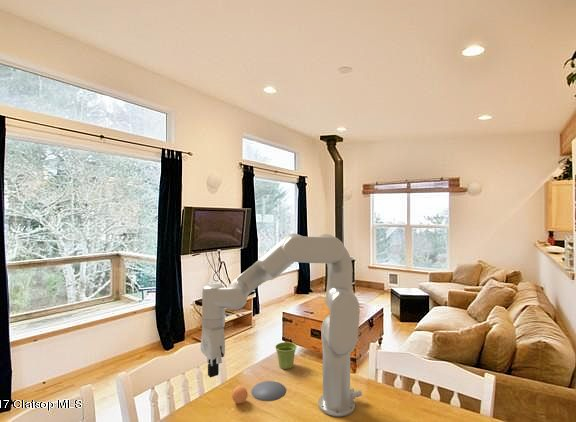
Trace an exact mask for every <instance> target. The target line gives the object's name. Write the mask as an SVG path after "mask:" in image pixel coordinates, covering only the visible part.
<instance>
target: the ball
mask: <svg viewBox="0 0 576 422" xmlns="http://www.w3.org/2000/svg"><path fill="white" fill-rule="evenodd" d="M232 390H233V391H232V393H231V398H232V400H233V402H234V403H236V404H243V403H244V402H246V400H247V398H248V394H249V393H248V391H247V390H248V389H247V388H245V386H243V385H239V386H236V387H235V388H233V389H232Z"/></svg>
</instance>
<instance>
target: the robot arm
mask: <svg viewBox="0 0 576 422" xmlns="http://www.w3.org/2000/svg"><path fill="white" fill-rule="evenodd" d="M294 263H305V264H306V263H307V264H326V267H327V280H326V292H325V304H326V306H327V308H328V309H329V315H327V316H326V317H325V318H324V319H323V321H322V323H321V329H320V331H321V333H320V335H321V347H322V395H320V397H319V398H318V409H320V410H321V411H322V412H323V413H325V414H326V415H329V416H331V417H347V416H349V415H350V414H352V413H353V412H354V411H355V409H356V405H355V404H356V403H355V401H354V400H355V399H356V398H359V397H362V396H363V393H362V390H360V389H357V390H355V389H354V388H352V387H351V353H352V352H353V350H354V349H356V346H357V343H358V337H359V325H360V310H361V309H360V303H359V300H358V298H357V296H356V295H355V294H354V293H353V263H352V259H351V255H350V254H349V252H348V250H347V248H346V247H345V245H344V243H343V242H342V241H341V240H340V239H339V238H338V237H336V236H334V235H332V234H326V233H325V234H321V235H319V236H303V235H300V234H298V233H290V234H288V235H286V236H285V237H284V238H282V239H281V240H280V241H279V242H278V243H277V244H276V245H275V246H273V247H272V248H271V249H270V250H268V251H267V253H265V254H264V255H263V256H262V257H260V258H259V259H258V260H257V261H255V262H254V263H253V264H252V265H251V266H249V267H248V268H247V269H246V270H244V271H243V272H242V273H241V274H240V275H239V276H237V277H236V278H235V279H234V280H233V281H231V282H230V284H229V285H228V287H225V286H224V285H223V284H219V283H211V284H207V285H205V286H203V288H202V293H201V294H202V296H201V297H202V298H201V299H202V301H201V303H202V305H201V309H202V310H201V311H202V312H201V313H202V314H201V319H202V320H201V337H200V351H201V353H202V354H203V355H204V356H205V357H206V360H207V376H208V377H209V378H214V377H216V376H219V371H220V369H219V366H220V364H222V362H223V359H222V358H224V357H225V355H226V343H225V342H226V340H225V329H224V327H225V325H226V309H228V310H241V309H242V308H244V306H245V305H247V301H248V296H249V295H250V294H251V293H252V292H253V291H254V290H256V289H257V288H258V287H259V286H261V285H263V284H264V283H266V282H268V281H272V280H275V279H276V278H278V277H279V276H280V275H281V274H283V273H284V272H285V271H286V270H287V269H288V268H289V267H290V266H292V265H293V264H294Z"/></svg>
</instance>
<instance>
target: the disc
mask: <svg viewBox="0 0 576 422" xmlns="http://www.w3.org/2000/svg"><path fill="white" fill-rule="evenodd" d="M286 391H287V389H286V386H285V385H284V384H282V383H280V382H278V381H272V380H269V381H261V382H259V383H257V384H255V385H254V386H253V387H252V388H251V395H252V397H254V399H257V400H259V401H264V402H266V401H267V402H271V401H276V400H278V399H281V398H282V397H284V396H285V394H286V393H287V392H286Z"/></svg>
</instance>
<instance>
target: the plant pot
mask: <svg viewBox="0 0 576 422" xmlns="http://www.w3.org/2000/svg"><path fill="white" fill-rule="evenodd" d="M274 348H275V351H276V353H277V361H278V366H279V368H280V369H284V370H287V369H289V370H290V369H292V368H293V367H294V360H295V353H296V349H297V344H296V343H294V342H289V341H288V342H286V341H283V342H280V343H277V344H275V346H274Z"/></svg>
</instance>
